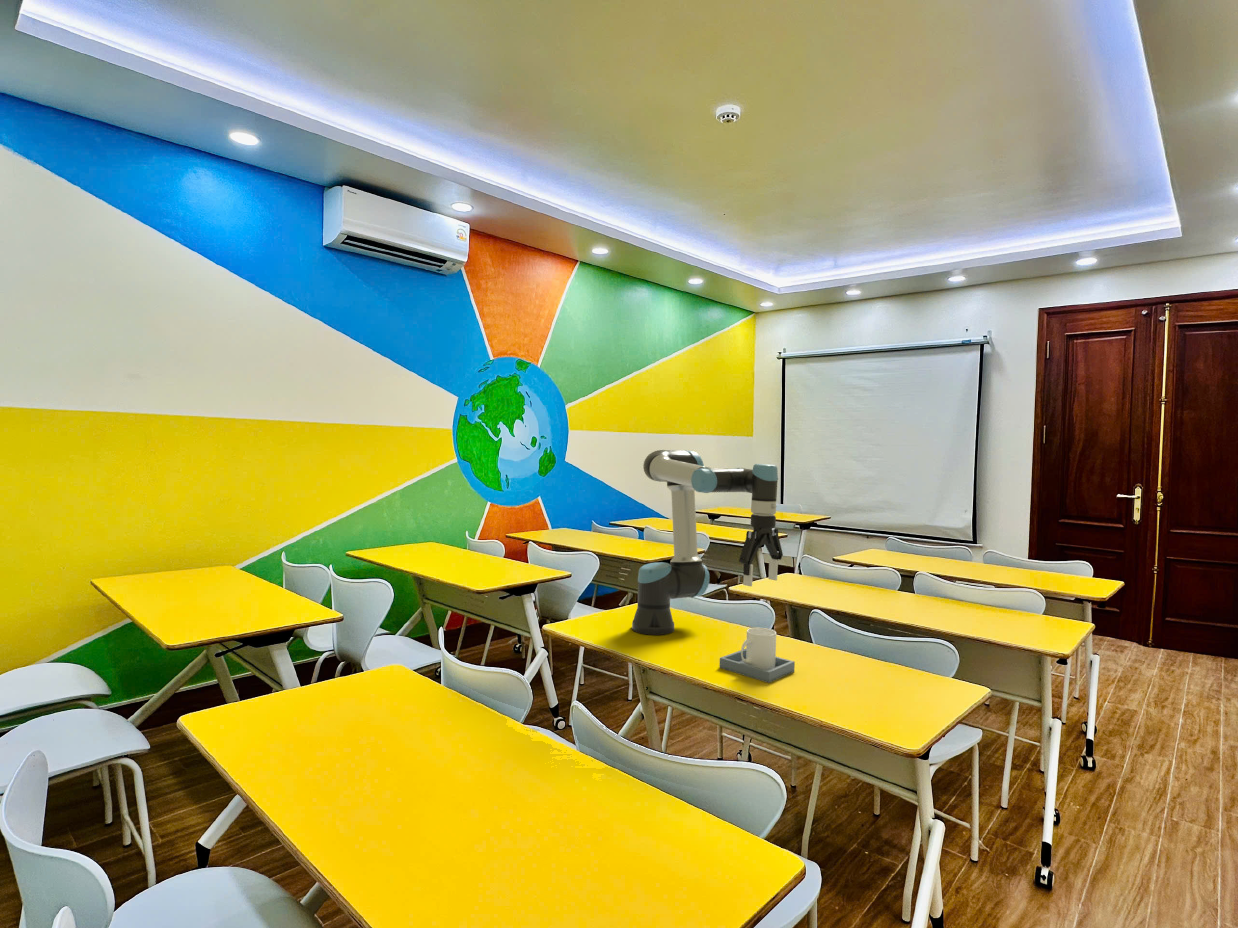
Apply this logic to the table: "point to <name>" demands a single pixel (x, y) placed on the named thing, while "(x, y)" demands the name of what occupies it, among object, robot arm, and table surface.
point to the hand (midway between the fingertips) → (760, 582)
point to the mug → (760, 648)
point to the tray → (738, 666)
